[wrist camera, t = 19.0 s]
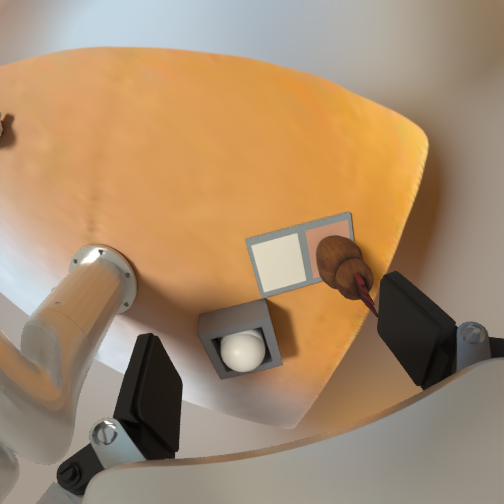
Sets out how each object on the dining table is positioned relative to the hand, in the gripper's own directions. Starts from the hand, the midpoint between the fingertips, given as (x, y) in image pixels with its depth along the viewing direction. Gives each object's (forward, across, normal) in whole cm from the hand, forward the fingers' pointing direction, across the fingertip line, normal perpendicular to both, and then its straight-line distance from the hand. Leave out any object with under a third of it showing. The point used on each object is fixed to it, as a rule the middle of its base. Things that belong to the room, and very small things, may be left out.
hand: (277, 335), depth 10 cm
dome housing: (+29, +4, +22) cm, 36 cm away
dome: (+27, +4, +22) cm, 35 cm away
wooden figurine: (+28, -12, +10) cm, 32 cm away
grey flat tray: (+28, -8, +11) cm, 31 cm away
